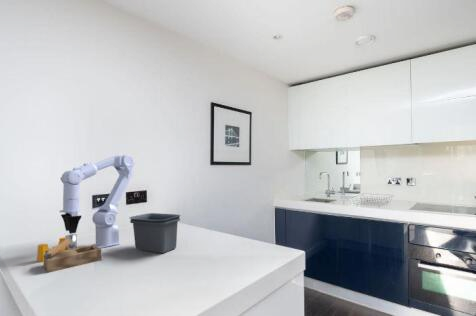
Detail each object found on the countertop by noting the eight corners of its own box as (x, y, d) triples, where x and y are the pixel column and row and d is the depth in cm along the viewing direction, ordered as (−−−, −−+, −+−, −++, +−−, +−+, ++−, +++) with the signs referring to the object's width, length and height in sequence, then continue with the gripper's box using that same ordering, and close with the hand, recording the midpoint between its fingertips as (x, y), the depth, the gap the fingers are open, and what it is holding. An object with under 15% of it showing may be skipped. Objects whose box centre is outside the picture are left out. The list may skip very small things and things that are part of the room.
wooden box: (94, 254, 109) (94, 240, 109) (101, 259, 102) (101, 245, 102) (43, 265, 97) (43, 250, 98) (47, 272, 90) (47, 256, 90)
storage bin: (125, 250, 113) (125, 217, 114) (153, 241, 127) (152, 211, 127) (162, 257, 103) (161, 220, 104) (187, 246, 117) (187, 213, 117)
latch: (48, 258, 93) (45, 255, 92) (46, 256, 96) (44, 253, 95) (71, 242, 98) (69, 240, 97) (69, 240, 101) (67, 238, 100)
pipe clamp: (59, 252, 114) (59, 237, 114) (68, 252, 113) (68, 237, 113) (33, 261, 102) (33, 245, 102) (43, 262, 101) (43, 245, 102)
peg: (75, 252, 112) (75, 233, 113) (77, 254, 109) (77, 235, 110) (64, 254, 109) (64, 235, 110) (66, 257, 107) (66, 237, 107)
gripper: (57, 198, 113) (56, 230, 112) (63, 201, 102) (62, 236, 102) (75, 197, 118) (75, 228, 117) (83, 199, 107) (83, 233, 106)
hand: (70, 231), depth 110 cm, fingers open, 7 cm apart
